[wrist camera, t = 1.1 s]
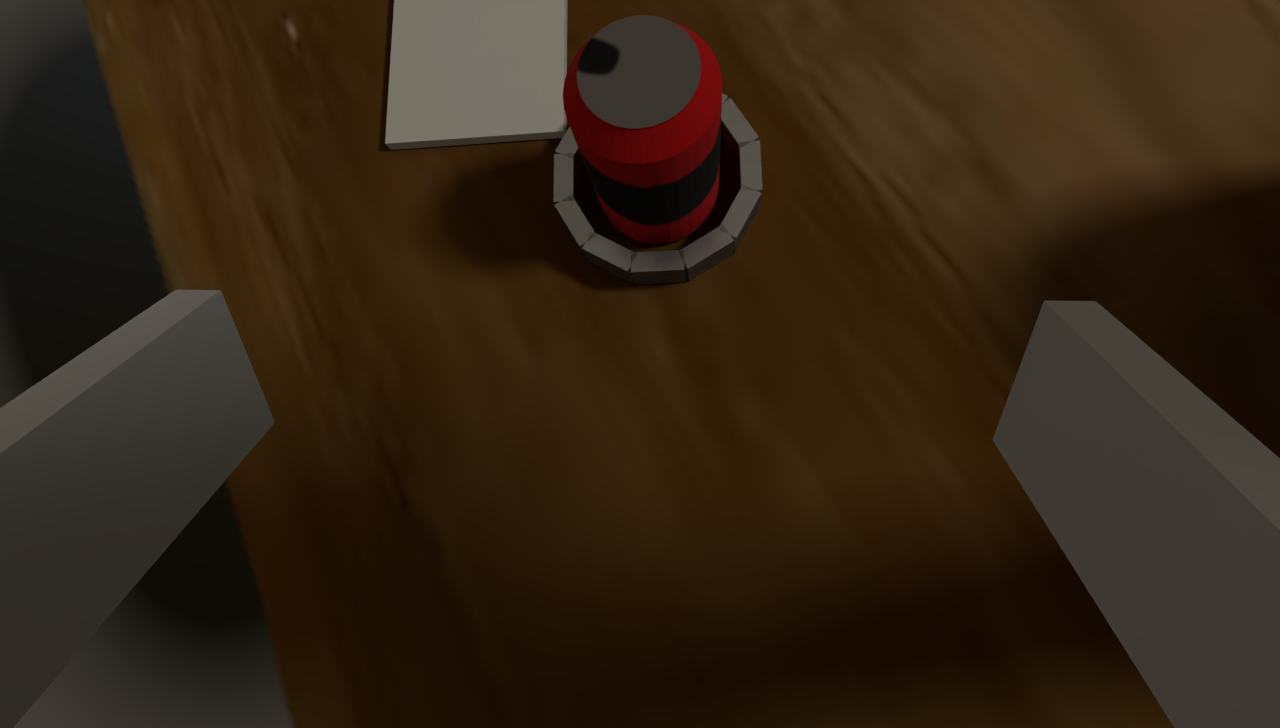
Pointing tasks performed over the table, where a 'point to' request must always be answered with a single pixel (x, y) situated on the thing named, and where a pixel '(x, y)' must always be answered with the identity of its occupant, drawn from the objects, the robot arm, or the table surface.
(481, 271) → the table surface
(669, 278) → the steel ring holder
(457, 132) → the cream coaster
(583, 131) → the soda can
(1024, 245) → the table surface
